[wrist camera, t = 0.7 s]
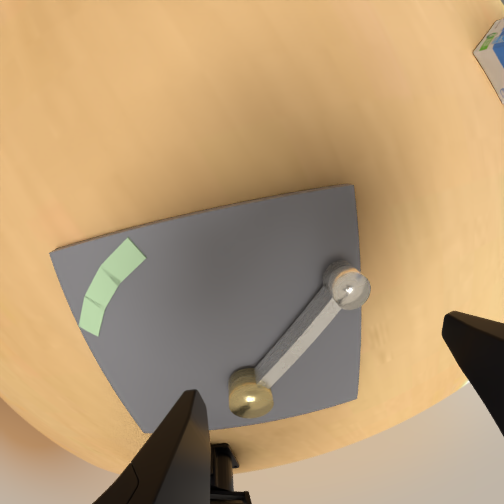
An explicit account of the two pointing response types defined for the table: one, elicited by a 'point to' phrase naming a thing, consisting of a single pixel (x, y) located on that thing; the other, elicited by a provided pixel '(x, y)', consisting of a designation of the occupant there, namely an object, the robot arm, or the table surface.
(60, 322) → the table surface
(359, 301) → the lever
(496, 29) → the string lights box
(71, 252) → the dial board
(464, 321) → the robot arm
